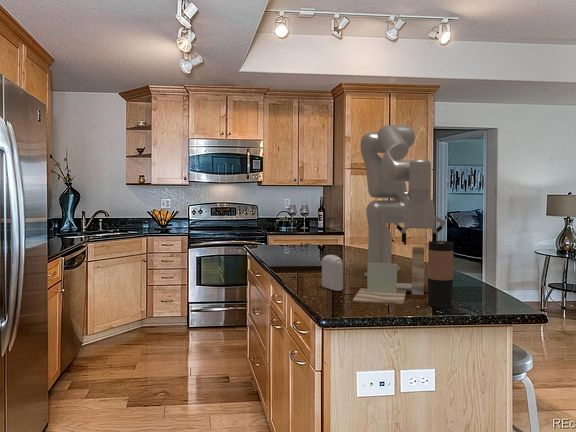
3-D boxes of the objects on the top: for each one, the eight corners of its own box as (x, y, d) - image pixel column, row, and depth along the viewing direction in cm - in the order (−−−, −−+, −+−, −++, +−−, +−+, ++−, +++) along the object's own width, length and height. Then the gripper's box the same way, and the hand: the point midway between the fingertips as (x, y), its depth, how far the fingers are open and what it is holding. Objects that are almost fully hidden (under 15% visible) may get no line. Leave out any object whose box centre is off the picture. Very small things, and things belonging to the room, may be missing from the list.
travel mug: (423, 303, 171) (424, 240, 170) (446, 302, 172) (448, 240, 171) (432, 308, 163) (433, 243, 162) (456, 308, 164) (457, 243, 163)
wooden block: (412, 292, 189) (412, 247, 188) (423, 292, 188) (424, 247, 187) (411, 294, 185) (412, 248, 185) (423, 295, 184) (424, 248, 184)
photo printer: (320, 286, 199) (320, 253, 199) (330, 286, 201) (330, 253, 200) (334, 291, 190) (334, 256, 189) (344, 290, 192) (345, 256, 191)
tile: (367, 290, 188) (368, 262, 188) (396, 292, 186) (397, 263, 185) (367, 291, 187) (367, 263, 186) (396, 293, 184) (396, 264, 183)
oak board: (360, 290, 193) (360, 288, 193) (406, 292, 189) (406, 290, 189) (352, 301, 174) (352, 299, 174) (403, 304, 170) (403, 302, 169)
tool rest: (388, 284, 204) (388, 282, 204) (415, 285, 202) (415, 283, 202) (386, 289, 194) (386, 287, 194) (415, 290, 192) (415, 288, 192)
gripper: (393, 195, 184) (393, 245, 184) (445, 195, 179) (445, 246, 180) (394, 195, 191) (394, 243, 191) (445, 195, 186) (444, 244, 187)
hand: (419, 244), depth 185 cm, fingers open, 9 cm apart
